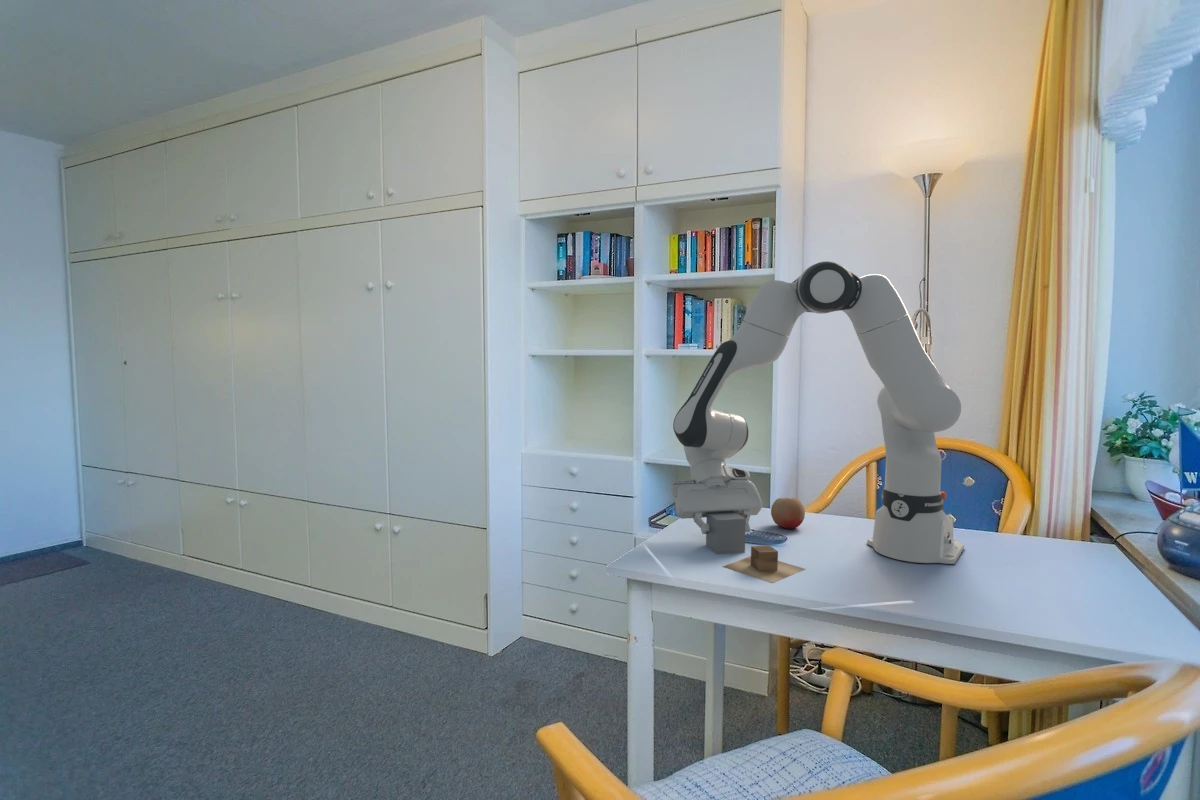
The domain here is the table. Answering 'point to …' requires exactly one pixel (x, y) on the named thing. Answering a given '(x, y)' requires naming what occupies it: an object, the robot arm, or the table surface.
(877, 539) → the robot arm
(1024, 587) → the table surface
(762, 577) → the cork mat
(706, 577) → the table surface
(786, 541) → the table surface
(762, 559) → the walnut block
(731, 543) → the plain grey cube
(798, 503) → the fruit
